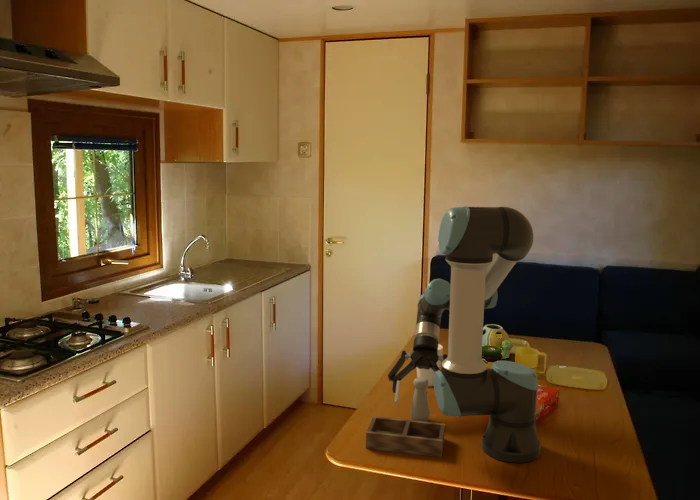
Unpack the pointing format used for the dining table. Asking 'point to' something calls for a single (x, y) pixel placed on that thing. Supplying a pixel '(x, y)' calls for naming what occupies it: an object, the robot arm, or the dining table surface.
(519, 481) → the dining table surface
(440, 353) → the foam cup
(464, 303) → the robot arm
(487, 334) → the turtle holder
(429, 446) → the wooden compartment tray
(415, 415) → the salt shaker
